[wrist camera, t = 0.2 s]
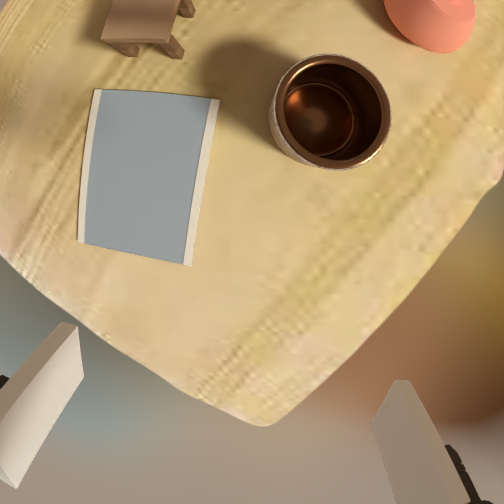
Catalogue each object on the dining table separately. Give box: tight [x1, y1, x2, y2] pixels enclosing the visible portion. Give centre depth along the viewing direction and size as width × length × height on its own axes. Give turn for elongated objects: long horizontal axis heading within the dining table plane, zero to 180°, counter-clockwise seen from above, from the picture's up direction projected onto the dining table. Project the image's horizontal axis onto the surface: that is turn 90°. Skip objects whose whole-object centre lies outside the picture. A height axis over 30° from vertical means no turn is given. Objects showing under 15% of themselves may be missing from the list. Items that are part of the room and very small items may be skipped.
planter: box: [268, 54, 391, 170], centre depth 29 cm, size 11×11×10 cm
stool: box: [100, 0, 195, 59], centre depth 27 cm, size 7×7×8 cm
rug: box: [78, 89, 220, 266], centre depth 36 cm, size 20×16×1 cm
